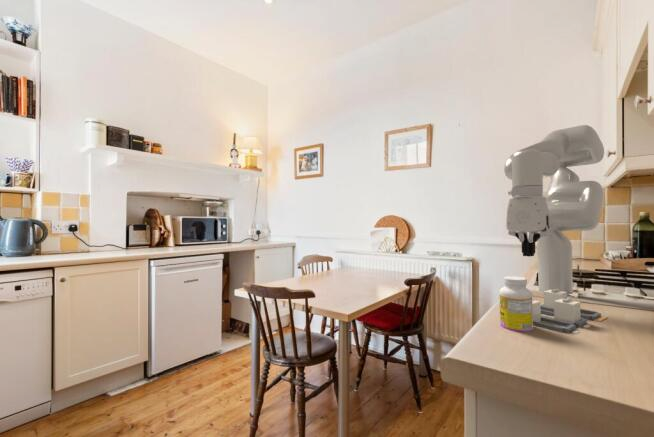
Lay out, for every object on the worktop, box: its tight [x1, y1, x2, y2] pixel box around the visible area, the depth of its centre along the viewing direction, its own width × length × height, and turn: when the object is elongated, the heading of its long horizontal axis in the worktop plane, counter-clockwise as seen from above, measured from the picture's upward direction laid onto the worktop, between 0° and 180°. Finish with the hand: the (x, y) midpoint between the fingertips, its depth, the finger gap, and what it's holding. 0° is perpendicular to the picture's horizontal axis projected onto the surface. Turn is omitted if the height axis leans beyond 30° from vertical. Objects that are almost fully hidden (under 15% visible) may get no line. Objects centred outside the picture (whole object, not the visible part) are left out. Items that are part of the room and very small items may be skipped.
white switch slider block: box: [543, 289, 568, 309], centre depth 87 cm, size 4×4×6 cm
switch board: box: [532, 299, 608, 335], centre depth 80 cm, size 22×15×7 cm
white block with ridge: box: [553, 297, 582, 323], centre depth 77 cm, size 4×4×6 cm
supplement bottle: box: [499, 275, 534, 333], centre depth 74 cm, size 7×7×13 cm
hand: (528, 255), depth 92 cm, fingers closed
